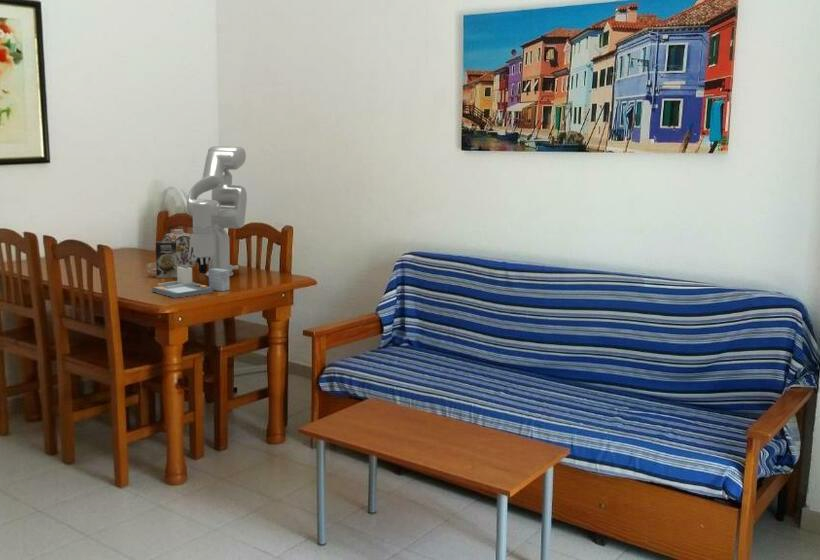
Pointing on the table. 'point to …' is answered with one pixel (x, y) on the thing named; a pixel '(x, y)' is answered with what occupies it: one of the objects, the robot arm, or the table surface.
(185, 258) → the decorative jar
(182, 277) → the toggle
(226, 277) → the medicine box
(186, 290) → the panel
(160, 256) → the coffee box
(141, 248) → the table surface
